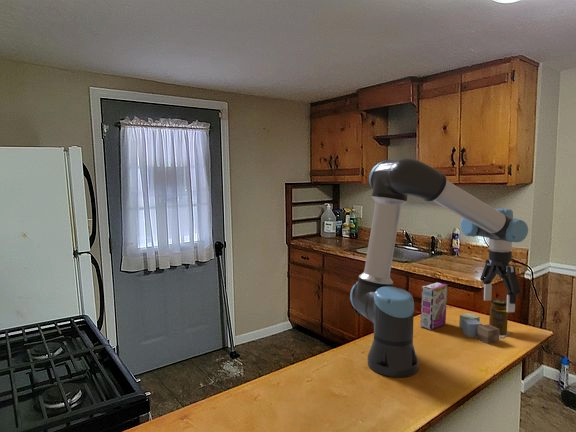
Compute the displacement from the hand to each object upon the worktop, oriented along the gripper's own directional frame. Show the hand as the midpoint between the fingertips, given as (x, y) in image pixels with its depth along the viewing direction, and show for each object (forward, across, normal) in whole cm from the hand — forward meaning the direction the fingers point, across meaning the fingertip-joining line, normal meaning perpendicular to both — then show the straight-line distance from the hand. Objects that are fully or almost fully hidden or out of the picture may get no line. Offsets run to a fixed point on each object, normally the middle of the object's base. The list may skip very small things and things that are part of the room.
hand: (498, 305), depth 146 cm
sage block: (+10, +5, +8) cm, 14 cm away
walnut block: (+10, -7, +8) cm, 15 cm away
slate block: (+10, -1, +11) cm, 15 cm away
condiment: (+10, 0, 0) cm, 11 cm away
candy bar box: (+10, +9, +21) cm, 25 cm away
